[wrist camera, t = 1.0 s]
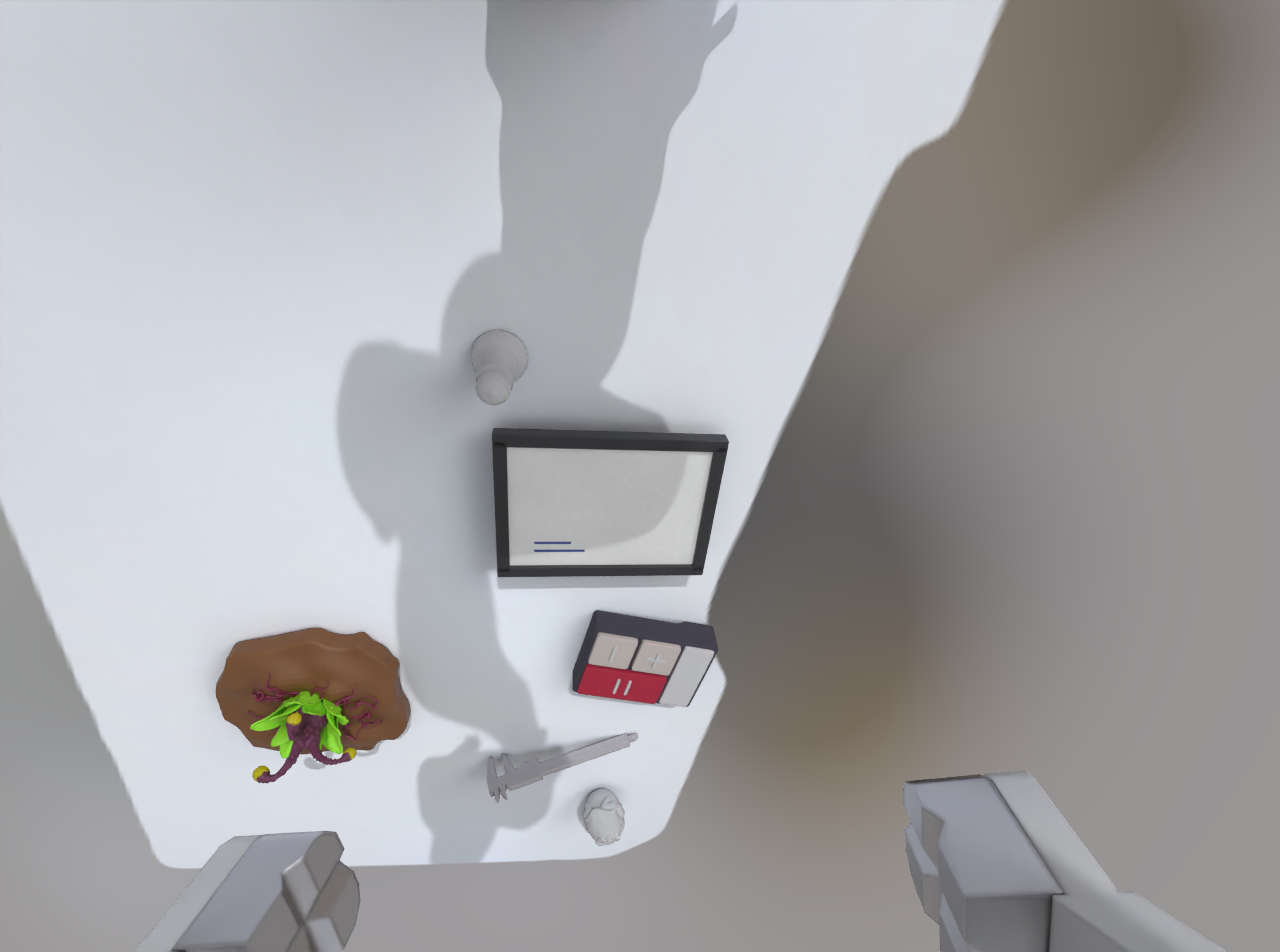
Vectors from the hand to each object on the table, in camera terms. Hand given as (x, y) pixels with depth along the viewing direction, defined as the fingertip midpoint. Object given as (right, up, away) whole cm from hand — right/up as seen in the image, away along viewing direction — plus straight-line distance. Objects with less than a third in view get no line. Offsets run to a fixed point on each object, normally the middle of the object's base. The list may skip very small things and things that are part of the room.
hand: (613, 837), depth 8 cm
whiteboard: (-3, +3, +51) cm, 51 cm away
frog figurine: (-5, -42, +80) cm, 91 cm away
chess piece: (-12, +16, +42) cm, 47 cm away
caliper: (-10, -32, +73) cm, 80 cm away
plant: (-37, -20, +61) cm, 74 cm away
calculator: (+1, -16, +64) cm, 66 cm away
